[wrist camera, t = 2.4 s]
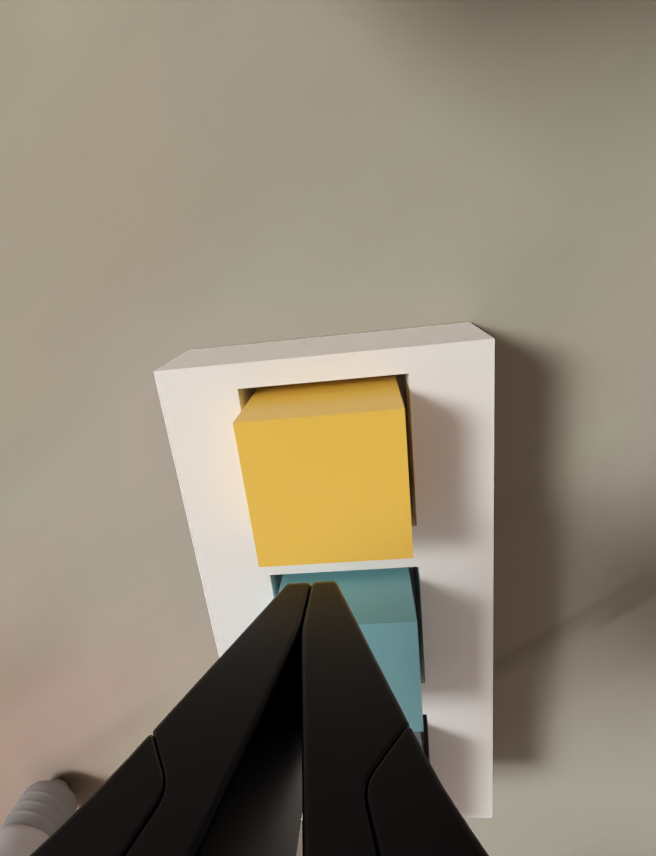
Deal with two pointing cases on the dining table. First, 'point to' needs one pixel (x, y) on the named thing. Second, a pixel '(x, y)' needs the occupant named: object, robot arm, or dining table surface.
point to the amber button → (326, 471)
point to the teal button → (383, 626)
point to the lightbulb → (36, 817)
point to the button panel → (429, 499)
